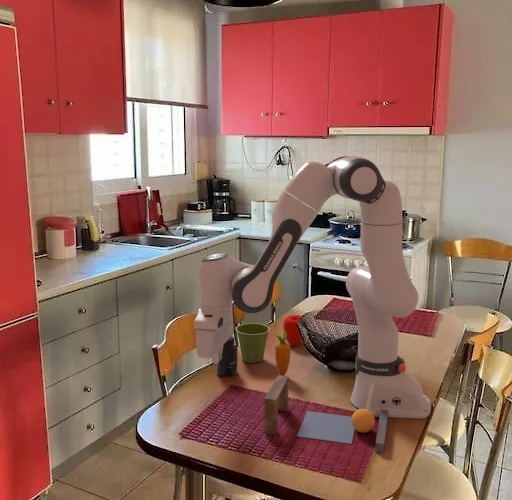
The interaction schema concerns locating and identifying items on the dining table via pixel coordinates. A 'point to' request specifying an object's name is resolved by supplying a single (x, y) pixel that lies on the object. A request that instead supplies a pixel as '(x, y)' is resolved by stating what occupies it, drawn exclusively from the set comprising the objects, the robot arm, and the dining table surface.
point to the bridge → (275, 403)
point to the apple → (292, 330)
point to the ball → (363, 420)
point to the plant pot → (252, 341)
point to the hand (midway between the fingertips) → (216, 361)
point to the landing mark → (327, 427)
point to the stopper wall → (381, 431)
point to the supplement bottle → (228, 359)
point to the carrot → (282, 354)
